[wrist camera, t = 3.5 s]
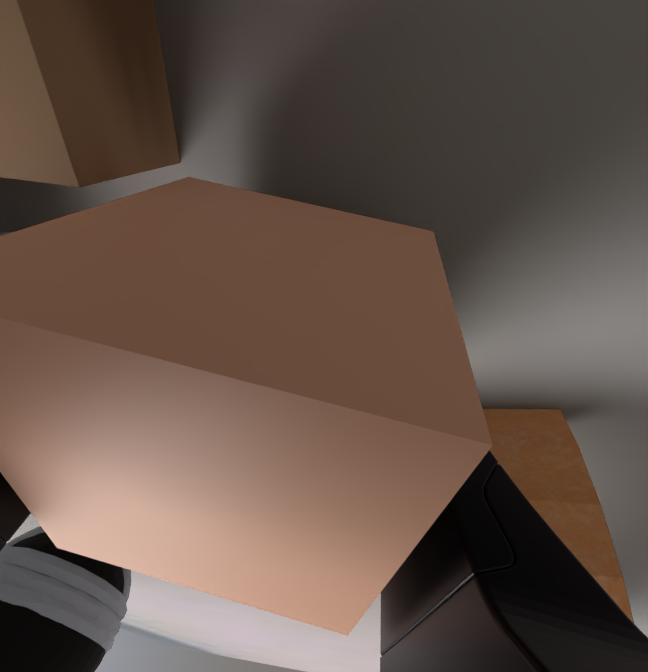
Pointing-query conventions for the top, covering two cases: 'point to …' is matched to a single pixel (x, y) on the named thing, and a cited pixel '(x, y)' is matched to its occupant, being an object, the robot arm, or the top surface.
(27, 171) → the walnut slab
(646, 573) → the top surface
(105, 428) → the terracotta cube
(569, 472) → the arch
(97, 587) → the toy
